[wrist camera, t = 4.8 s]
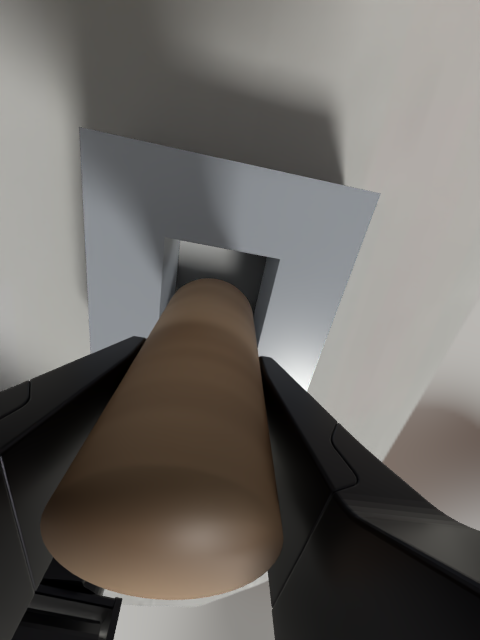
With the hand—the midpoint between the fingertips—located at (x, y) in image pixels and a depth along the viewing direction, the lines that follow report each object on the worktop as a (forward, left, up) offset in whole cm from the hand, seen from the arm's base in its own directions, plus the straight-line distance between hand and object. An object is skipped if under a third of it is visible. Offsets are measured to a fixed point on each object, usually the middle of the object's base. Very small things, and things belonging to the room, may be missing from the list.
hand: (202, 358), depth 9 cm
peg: (0, 0, -3) cm, 3 cm away
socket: (0, 0, -9) cm, 9 cm away
